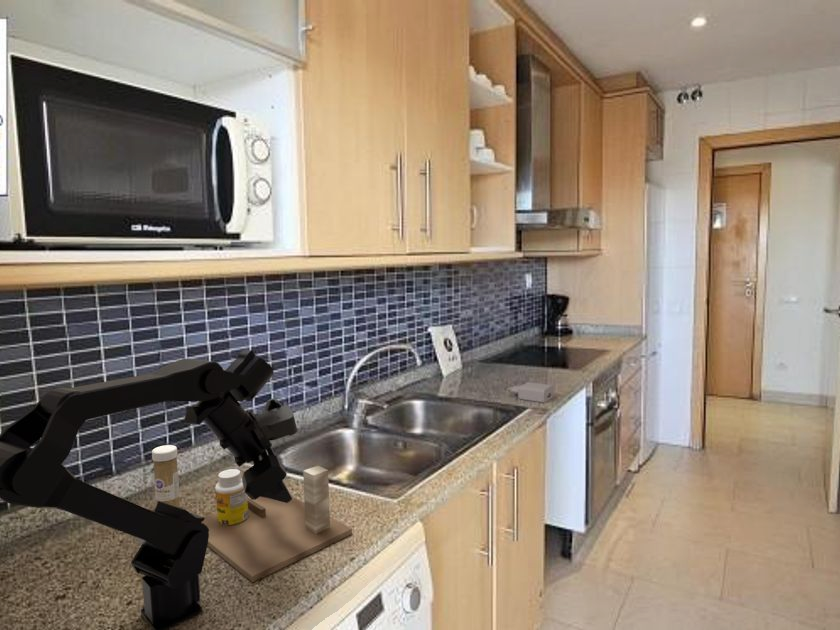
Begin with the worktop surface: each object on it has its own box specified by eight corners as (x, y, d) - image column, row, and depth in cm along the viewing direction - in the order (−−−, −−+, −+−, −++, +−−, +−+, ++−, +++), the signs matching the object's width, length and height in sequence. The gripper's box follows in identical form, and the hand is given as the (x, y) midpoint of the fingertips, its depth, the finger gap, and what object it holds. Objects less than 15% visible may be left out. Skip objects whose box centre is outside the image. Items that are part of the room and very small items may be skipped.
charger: (513, 392, 199) (553, 397, 190) (503, 397, 191) (544, 404, 183) (513, 379, 198) (553, 384, 190) (503, 384, 190) (544, 390, 182)
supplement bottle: (215, 522, 105) (210, 472, 103) (243, 513, 108) (239, 464, 107) (223, 534, 100) (218, 482, 99) (252, 524, 103) (248, 473, 102)
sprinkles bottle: (152, 518, 107) (147, 452, 105) (163, 507, 111) (158, 444, 110) (175, 517, 107) (170, 452, 105) (185, 507, 111) (180, 443, 110)
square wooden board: (252, 582, 85) (248, 509, 84) (185, 528, 103) (181, 467, 101) (352, 533, 100) (350, 471, 98) (278, 493, 117) (276, 439, 116)
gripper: (286, 419, 79) (338, 486, 87) (264, 370, 95) (310, 430, 103) (219, 466, 77) (279, 530, 84) (208, 408, 93) (259, 466, 100)
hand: (283, 484), depth 93 cm, fingers open, 9 cm apart
